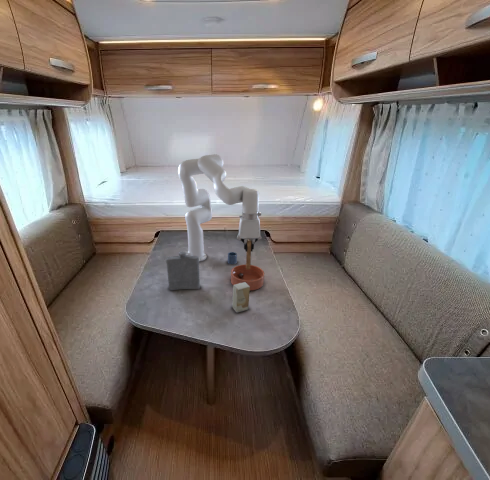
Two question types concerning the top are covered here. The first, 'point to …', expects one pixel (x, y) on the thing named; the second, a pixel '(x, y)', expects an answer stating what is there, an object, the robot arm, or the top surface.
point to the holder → (232, 258)
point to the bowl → (248, 276)
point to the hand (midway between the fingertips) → (248, 250)
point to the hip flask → (183, 272)
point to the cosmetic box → (241, 296)
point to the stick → (248, 254)
